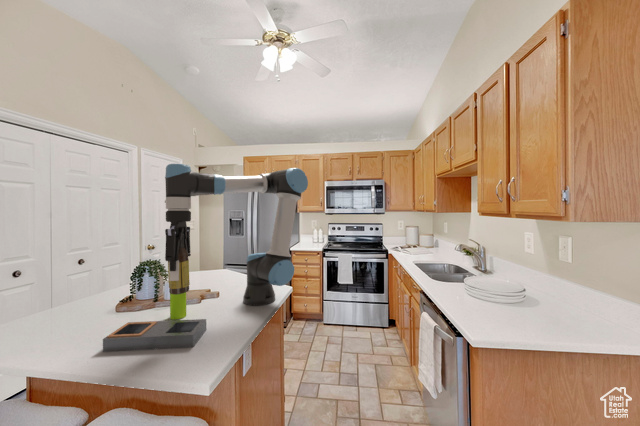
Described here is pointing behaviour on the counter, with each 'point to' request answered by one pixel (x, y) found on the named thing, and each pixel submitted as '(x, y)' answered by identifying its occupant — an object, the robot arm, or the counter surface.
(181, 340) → the grey tray
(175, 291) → the sauce bottle
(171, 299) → the soap dispenser
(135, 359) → the counter surface
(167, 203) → the robot arm
